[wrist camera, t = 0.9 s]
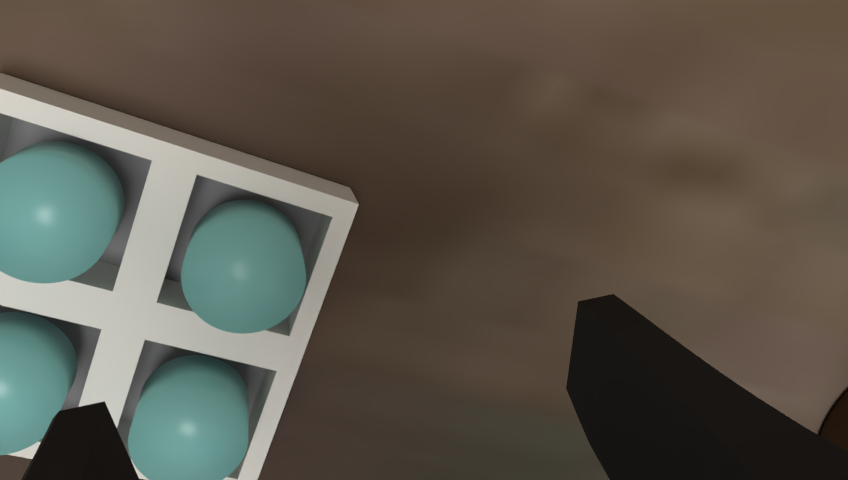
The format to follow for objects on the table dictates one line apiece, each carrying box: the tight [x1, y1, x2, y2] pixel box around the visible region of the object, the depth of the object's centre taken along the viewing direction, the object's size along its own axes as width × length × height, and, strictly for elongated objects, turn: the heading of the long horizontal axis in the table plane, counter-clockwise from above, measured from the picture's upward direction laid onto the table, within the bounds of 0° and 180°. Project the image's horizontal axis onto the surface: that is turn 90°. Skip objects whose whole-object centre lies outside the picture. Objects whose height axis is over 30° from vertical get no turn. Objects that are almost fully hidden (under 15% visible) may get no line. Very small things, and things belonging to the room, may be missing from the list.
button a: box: [128, 355, 249, 480], centre depth 25 cm, size 4×4×2 cm
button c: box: [181, 200, 306, 334], centre depth 24 cm, size 4×4×2 cm
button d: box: [0, 141, 125, 284], centre depth 22 cm, size 4×4×2 cm
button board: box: [0, 72, 359, 480], centre depth 25 cm, size 12×12×2 cm
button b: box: [0, 312, 77, 455], centre depth 23 cm, size 4×4×2 cm
